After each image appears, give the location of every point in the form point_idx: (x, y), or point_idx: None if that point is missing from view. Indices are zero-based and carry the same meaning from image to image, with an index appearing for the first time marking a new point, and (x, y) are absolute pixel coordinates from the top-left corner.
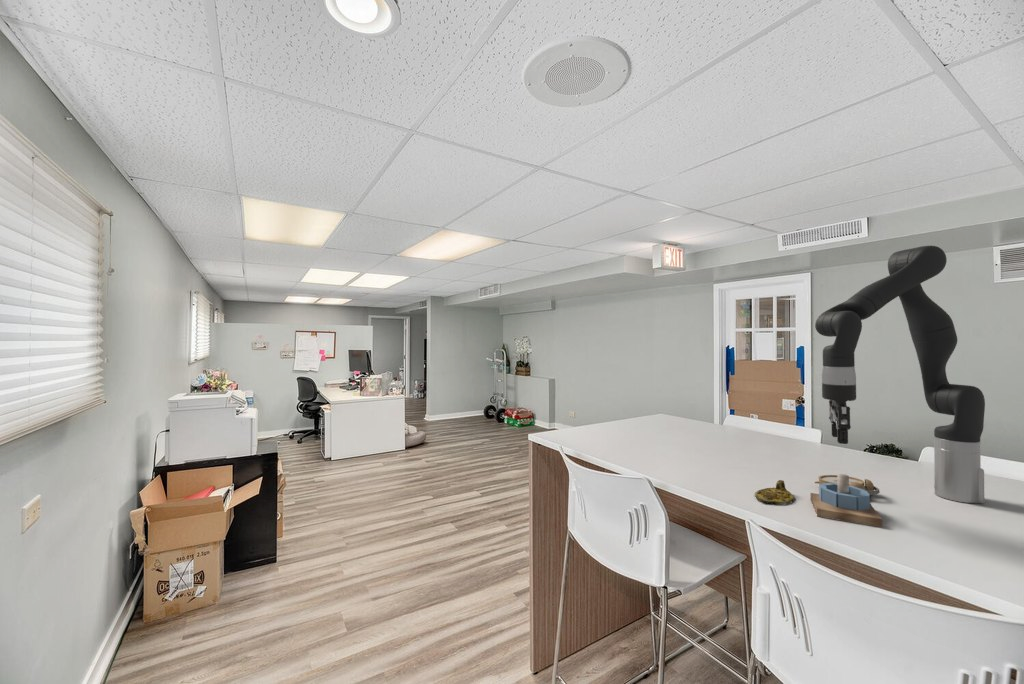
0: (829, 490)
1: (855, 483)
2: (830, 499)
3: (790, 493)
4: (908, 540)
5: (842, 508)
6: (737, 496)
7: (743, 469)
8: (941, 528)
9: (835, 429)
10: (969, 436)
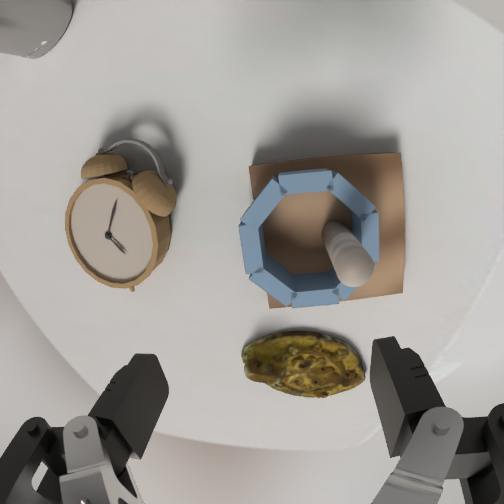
0: None
1: (151, 201)
2: None
3: (272, 342)
4: (440, 117)
5: None
6: (340, 412)
7: None
8: (305, 29)
9: (146, 416)
10: None
